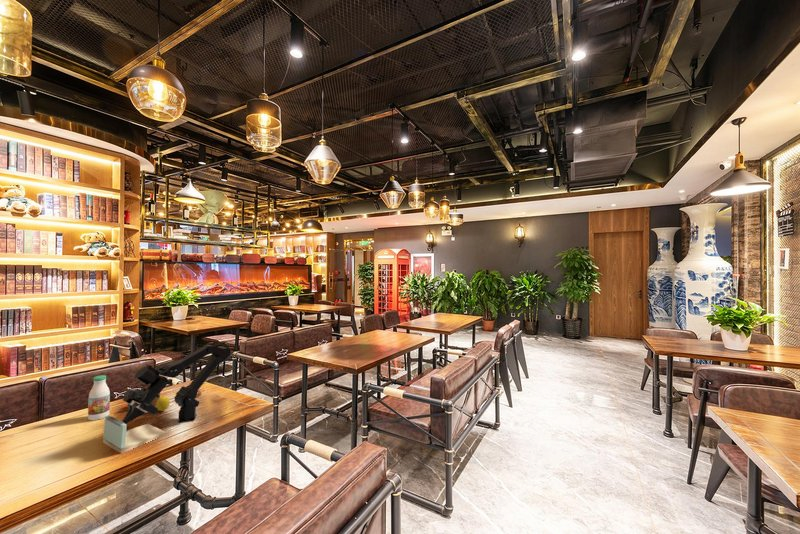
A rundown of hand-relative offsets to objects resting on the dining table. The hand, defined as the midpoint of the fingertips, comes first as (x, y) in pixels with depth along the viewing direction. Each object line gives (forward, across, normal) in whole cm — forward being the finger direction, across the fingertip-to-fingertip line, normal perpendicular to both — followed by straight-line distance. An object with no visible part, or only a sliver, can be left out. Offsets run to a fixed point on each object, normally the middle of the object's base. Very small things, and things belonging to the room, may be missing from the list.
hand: (122, 424), depth 133 cm
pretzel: (-24, -28, +36) cm, 51 cm away
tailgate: (+7, 0, +2) cm, 7 cm away
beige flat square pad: (+2, 0, +9) cm, 9 cm away
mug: (-10, -34, +22) cm, 42 cm away
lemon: (-11, -20, +23) cm, 32 cm away
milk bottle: (+2, -39, +10) cm, 41 cm away
